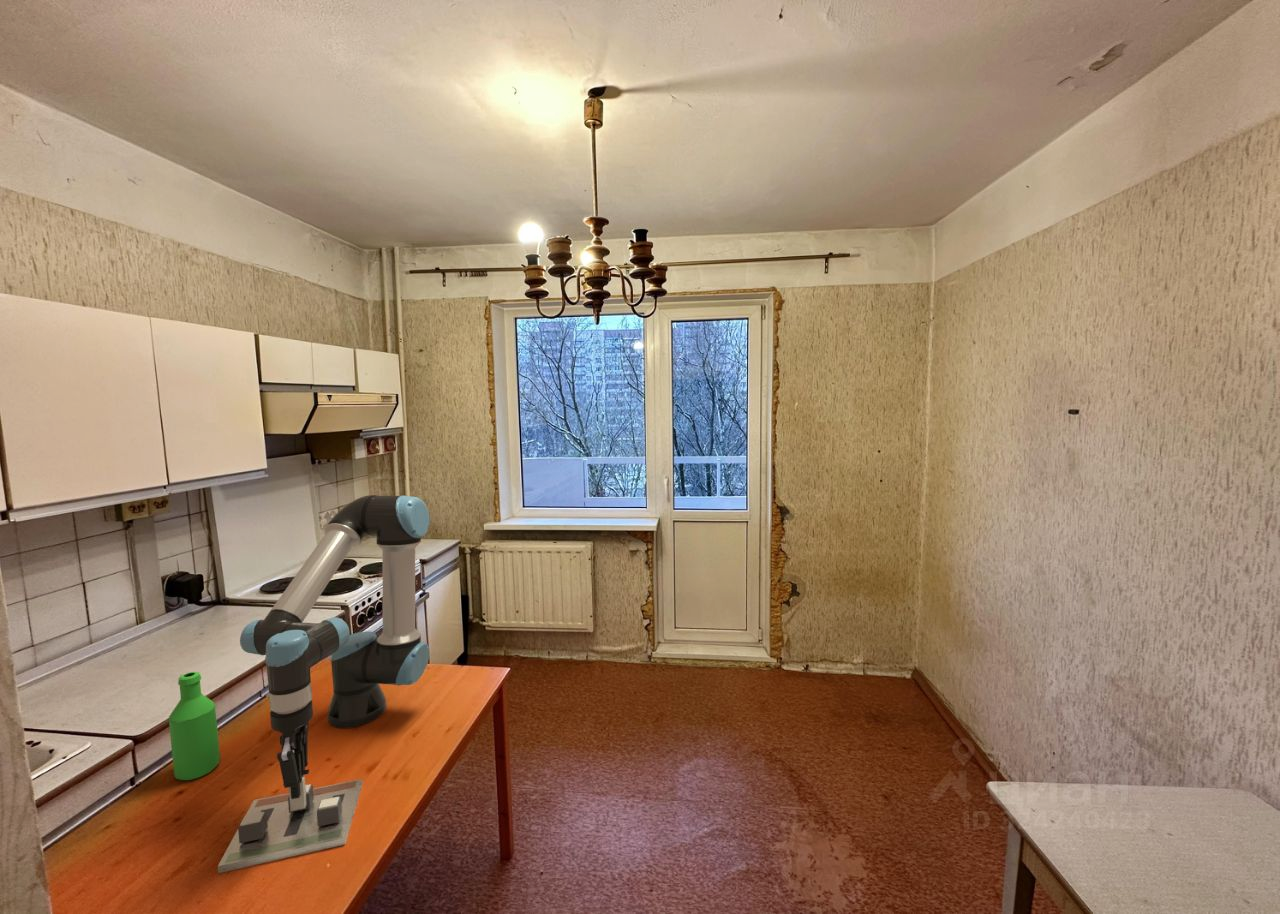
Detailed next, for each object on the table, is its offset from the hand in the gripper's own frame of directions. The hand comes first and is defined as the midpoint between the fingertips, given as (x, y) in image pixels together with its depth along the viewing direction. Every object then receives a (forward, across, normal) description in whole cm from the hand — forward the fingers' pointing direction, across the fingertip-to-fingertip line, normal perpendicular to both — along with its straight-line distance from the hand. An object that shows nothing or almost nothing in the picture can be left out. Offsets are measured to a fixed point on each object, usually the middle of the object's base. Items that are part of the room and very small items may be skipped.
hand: (298, 807), depth 115 cm
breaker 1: (+1, +4, -7) cm, 8 cm away
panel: (+3, +1, 0) cm, 3 cm away
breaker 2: (+1, -2, 0) cm, 3 cm away
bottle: (+3, -26, -29) cm, 39 cm away
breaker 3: (+1, +4, +7) cm, 8 cm away
